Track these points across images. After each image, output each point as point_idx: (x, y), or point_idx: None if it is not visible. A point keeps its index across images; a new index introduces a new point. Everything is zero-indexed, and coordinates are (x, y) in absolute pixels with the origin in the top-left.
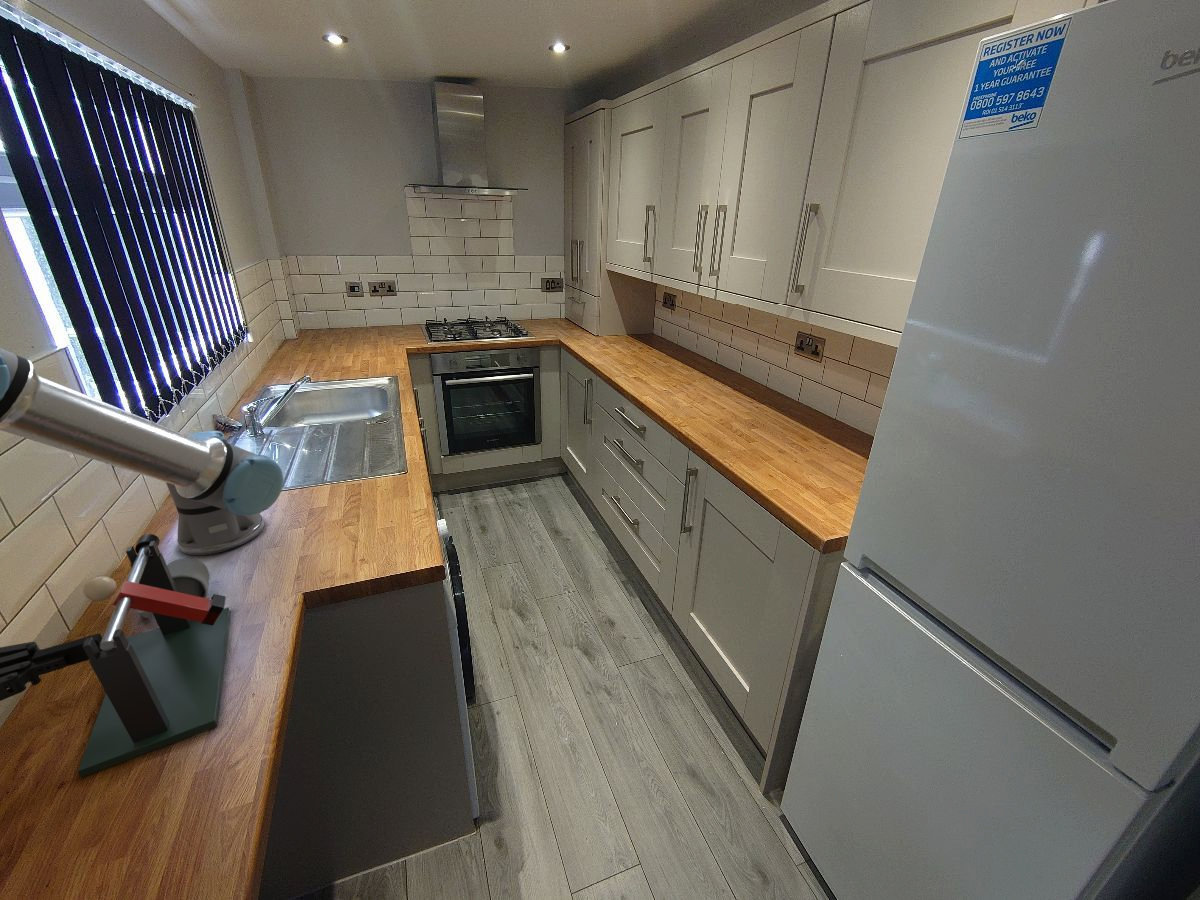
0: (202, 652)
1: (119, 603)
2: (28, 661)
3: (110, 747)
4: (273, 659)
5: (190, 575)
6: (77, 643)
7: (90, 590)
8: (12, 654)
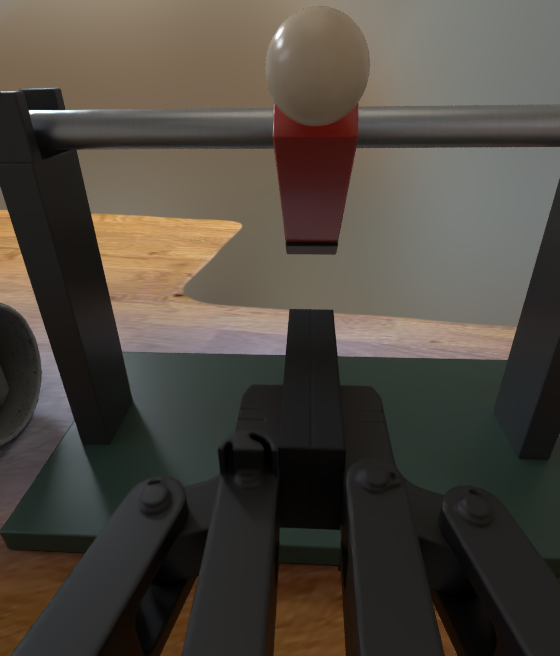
0: (268, 378)
1: (399, 107)
2: (356, 464)
3: (556, 501)
4: (349, 324)
5: (1, 303)
6: (320, 341)
7: (362, 38)
8: (203, 563)
